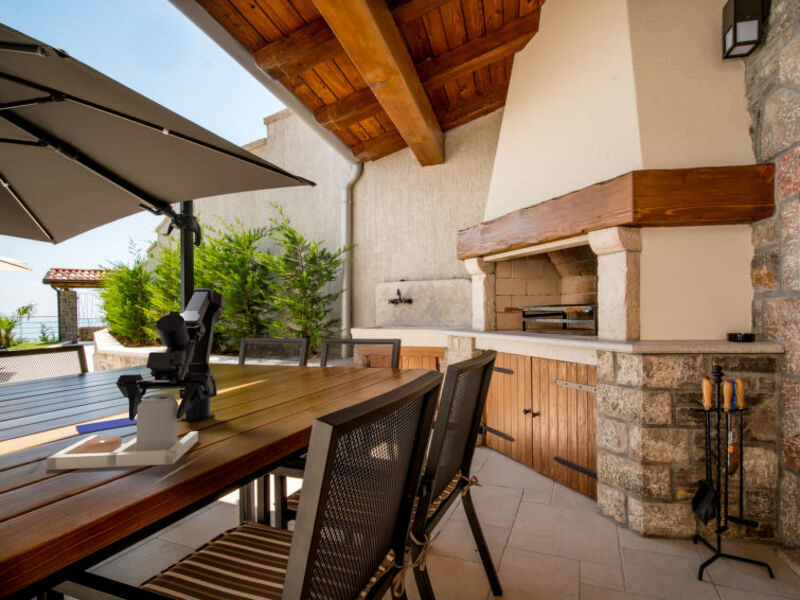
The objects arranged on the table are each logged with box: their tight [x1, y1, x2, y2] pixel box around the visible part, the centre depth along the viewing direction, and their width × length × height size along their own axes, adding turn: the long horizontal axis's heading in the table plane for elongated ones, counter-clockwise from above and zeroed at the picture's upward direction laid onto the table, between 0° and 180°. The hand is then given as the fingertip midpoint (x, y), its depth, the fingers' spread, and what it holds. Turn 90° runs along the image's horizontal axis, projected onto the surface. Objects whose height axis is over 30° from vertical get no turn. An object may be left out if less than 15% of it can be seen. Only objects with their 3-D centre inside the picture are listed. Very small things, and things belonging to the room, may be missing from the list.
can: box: [136, 393, 179, 451], centre depth 86 cm, size 8×8×12 cm
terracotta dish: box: [84, 435, 123, 454], centre depth 85 cm, size 6×6×3 cm
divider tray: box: [46, 430, 199, 471], centre depth 85 cm, size 14×23×3 cm, turn 98°
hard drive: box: [75, 416, 137, 435], centre depth 105 cm, size 2×8×12 cm
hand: (154, 418), depth 85 cm, fingers open, 9 cm apart
